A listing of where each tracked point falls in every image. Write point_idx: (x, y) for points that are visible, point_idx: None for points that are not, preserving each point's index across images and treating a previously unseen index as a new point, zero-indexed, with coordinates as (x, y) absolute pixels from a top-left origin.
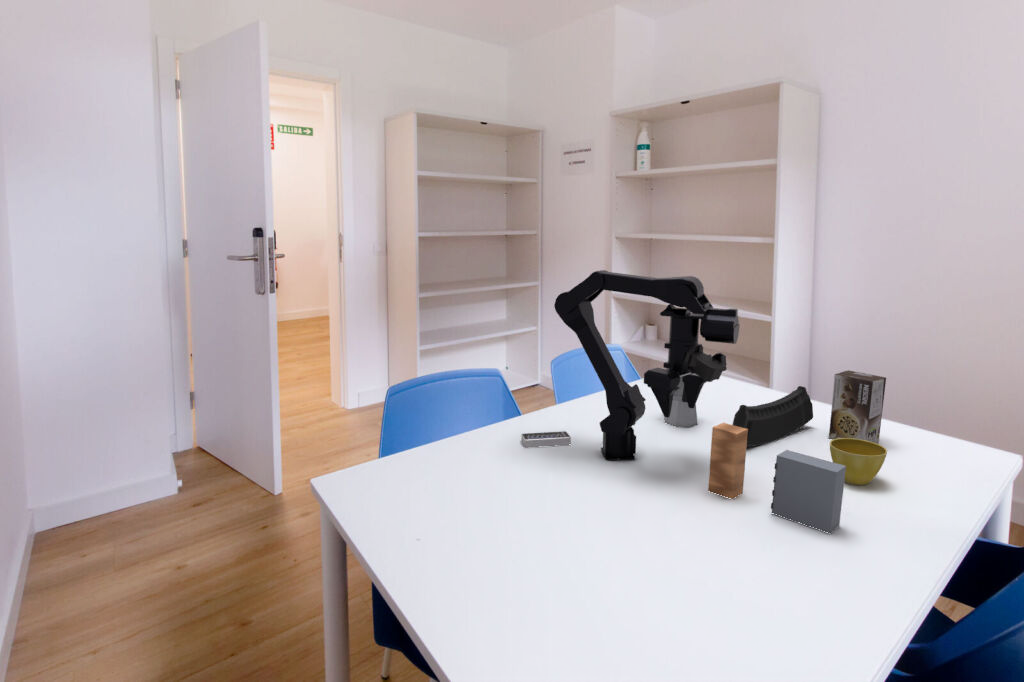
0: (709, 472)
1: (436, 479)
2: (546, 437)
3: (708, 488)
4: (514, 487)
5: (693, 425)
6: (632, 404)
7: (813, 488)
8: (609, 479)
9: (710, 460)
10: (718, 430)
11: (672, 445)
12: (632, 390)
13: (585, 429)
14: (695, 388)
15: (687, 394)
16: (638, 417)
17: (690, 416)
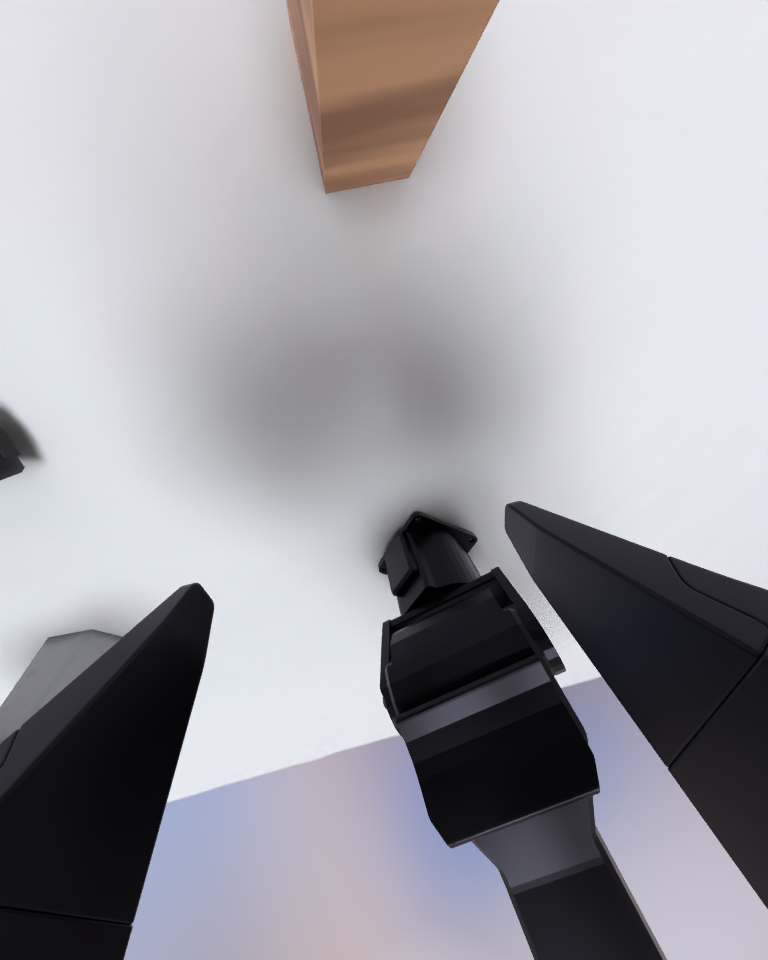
0: (433, 128)
1: (745, 571)
2: None
3: (411, 169)
4: (717, 498)
5: (68, 636)
6: (549, 678)
7: None
8: (563, 444)
9: (458, 75)
10: None
11: (238, 550)
12: (527, 789)
13: (375, 670)
14: (39, 823)
15: (174, 728)
16: (460, 617)
17: (59, 668)
